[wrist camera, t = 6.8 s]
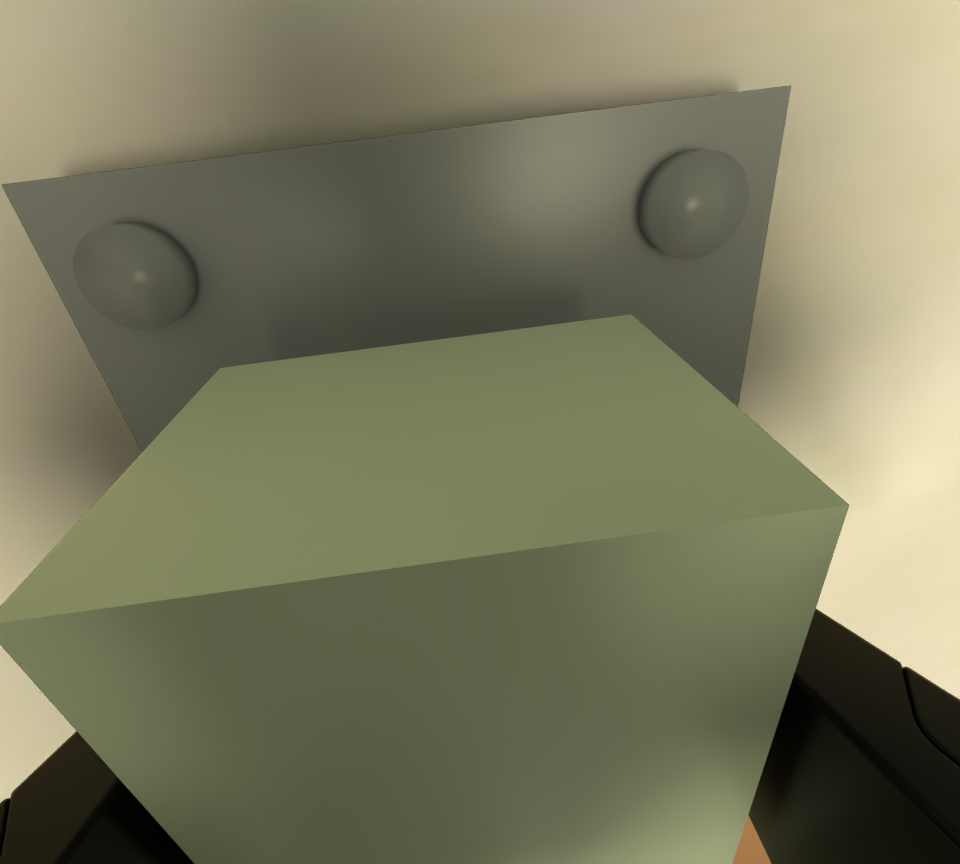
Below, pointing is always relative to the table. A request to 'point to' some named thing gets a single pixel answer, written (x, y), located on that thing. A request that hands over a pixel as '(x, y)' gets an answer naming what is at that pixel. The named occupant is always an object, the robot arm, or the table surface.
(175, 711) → the sage brick
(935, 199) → the table surface
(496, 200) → the baseplate
